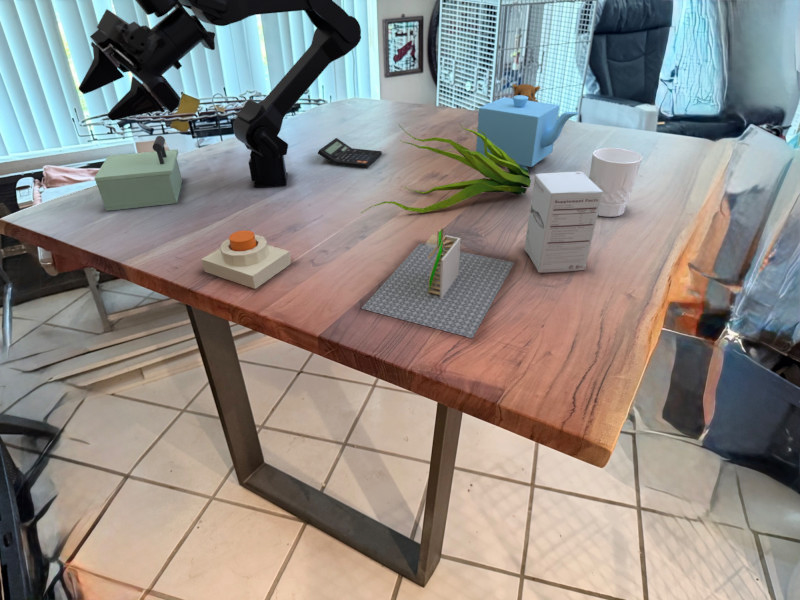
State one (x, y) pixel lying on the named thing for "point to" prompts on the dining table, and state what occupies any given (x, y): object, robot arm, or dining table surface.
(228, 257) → the control block
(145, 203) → the green lidded box
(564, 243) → the white packaging box
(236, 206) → the dining table surface
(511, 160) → the decorative plant
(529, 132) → the teapot
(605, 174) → the white cup
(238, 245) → the button
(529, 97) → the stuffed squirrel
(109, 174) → the box lid
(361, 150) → the calculator
